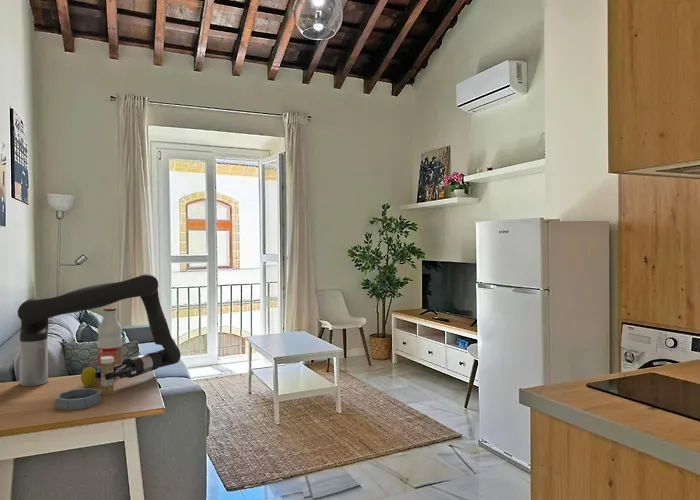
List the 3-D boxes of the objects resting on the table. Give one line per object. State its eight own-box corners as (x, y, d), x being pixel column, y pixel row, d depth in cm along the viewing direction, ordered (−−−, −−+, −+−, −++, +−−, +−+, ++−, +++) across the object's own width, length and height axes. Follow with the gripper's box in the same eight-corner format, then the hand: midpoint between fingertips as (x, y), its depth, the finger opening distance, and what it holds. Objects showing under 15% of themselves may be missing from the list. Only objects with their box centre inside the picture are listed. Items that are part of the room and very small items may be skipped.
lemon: (90, 389, 195) (90, 368, 195) (77, 388, 196) (77, 367, 196) (100, 385, 200) (100, 365, 200) (87, 384, 202) (87, 364, 201)
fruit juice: (127, 374, 217) (126, 307, 216) (106, 379, 209) (105, 310, 209) (114, 370, 222) (113, 305, 222) (93, 375, 214) (92, 308, 214)
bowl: (48, 406, 176) (48, 396, 176) (81, 395, 188) (81, 386, 188) (75, 411, 171) (75, 401, 171) (108, 400, 183) (107, 391, 183)
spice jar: (98, 393, 190) (98, 357, 190) (110, 390, 194) (110, 355, 193) (104, 396, 187) (103, 359, 187) (116, 393, 191) (116, 357, 190)
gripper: (123, 354, 206) (86, 364, 190) (151, 357, 200) (115, 368, 185) (124, 373, 206) (86, 384, 191) (151, 377, 201) (115, 389, 185)
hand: (101, 376), depth 188 cm, fingers closed on spice jar, 4 cm apart
